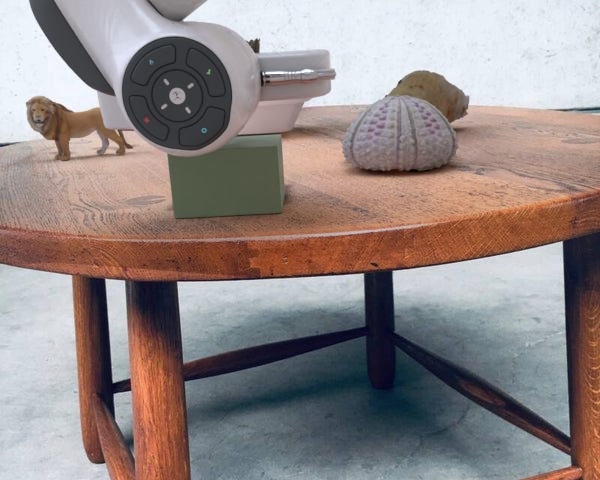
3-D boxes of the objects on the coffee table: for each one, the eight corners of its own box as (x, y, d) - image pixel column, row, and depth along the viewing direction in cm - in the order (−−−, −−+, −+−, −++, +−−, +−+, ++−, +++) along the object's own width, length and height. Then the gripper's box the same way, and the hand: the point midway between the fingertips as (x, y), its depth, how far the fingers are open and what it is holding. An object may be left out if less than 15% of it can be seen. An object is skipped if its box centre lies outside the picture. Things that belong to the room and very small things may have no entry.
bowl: (186, 146, 137) (180, 87, 134) (204, 131, 156) (199, 79, 153) (321, 139, 136) (318, 79, 133) (323, 125, 155) (321, 72, 152)
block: (174, 218, 83) (166, 152, 81) (188, 199, 93) (182, 139, 90) (281, 213, 83) (277, 146, 81) (285, 194, 92) (281, 134, 90)
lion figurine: (38, 164, 127) (27, 97, 123) (30, 161, 131) (19, 96, 127) (138, 153, 132) (130, 89, 129) (128, 150, 137) (120, 88, 133)
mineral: (407, 82, 114) (337, 97, 119) (421, 154, 117) (352, 166, 122) (466, 56, 135) (404, 69, 140) (475, 118, 139) (414, 129, 143)
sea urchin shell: (358, 160, 113) (355, 92, 110) (466, 158, 108) (467, 88, 105) (328, 177, 101) (325, 102, 98) (449, 176, 97) (449, 98, 94)
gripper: (335, 31, 70) (332, 31, 82) (73, 47, 70) (111, 44, 83) (338, 116, 72) (335, 103, 85) (85, 131, 73) (120, 116, 86)
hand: (222, 74), depth 84 cm, fingers closed on cup, 7 cm apart
